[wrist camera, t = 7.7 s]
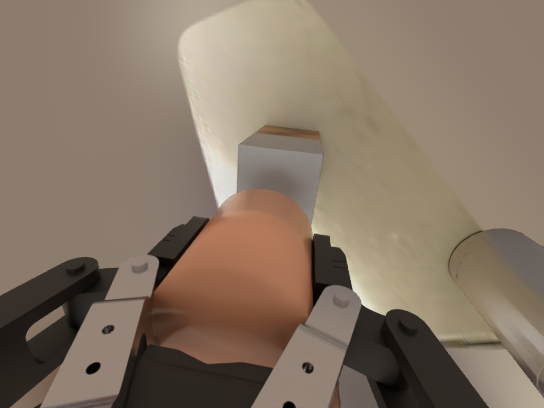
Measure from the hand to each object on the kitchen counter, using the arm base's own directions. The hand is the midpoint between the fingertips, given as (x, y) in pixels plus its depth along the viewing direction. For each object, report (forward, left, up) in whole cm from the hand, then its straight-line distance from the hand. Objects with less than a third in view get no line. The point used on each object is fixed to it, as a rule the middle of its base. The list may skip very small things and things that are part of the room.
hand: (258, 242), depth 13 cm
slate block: (0, 0, -13) cm, 13 cm away
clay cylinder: (0, 0, -1) cm, 1 cm away
